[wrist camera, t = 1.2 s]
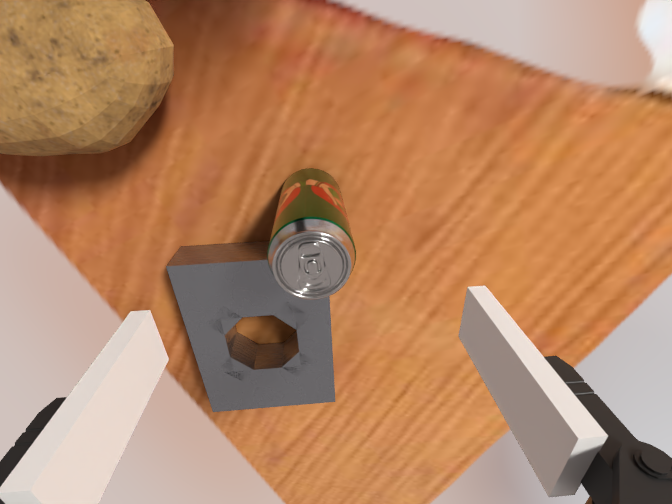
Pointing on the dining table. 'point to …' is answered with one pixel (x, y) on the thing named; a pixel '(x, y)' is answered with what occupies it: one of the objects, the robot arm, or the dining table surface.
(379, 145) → the dining table surface
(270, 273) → the plate
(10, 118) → the potato
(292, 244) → the soda can
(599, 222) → the dining table surface
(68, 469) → the robot arm
